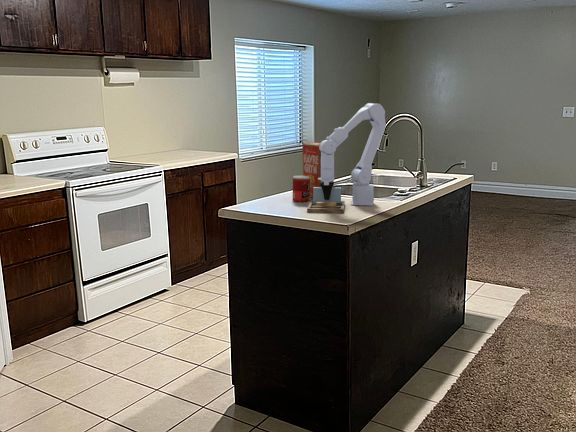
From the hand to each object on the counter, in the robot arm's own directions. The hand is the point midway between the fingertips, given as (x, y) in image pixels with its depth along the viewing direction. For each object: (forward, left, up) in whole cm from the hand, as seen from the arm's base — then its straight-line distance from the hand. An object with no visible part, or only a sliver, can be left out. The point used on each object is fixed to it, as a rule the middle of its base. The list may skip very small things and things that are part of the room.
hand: (327, 199), depth 249 cm
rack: (0, +6, -3) cm, 7 cm away
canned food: (+13, -11, -3) cm, 17 cm away
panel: (0, 0, -3) cm, 3 cm away
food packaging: (+5, -23, -3) cm, 24 cm away
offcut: (0, +6, -3) cm, 7 cm away
